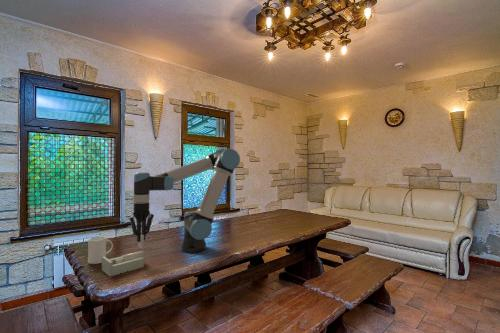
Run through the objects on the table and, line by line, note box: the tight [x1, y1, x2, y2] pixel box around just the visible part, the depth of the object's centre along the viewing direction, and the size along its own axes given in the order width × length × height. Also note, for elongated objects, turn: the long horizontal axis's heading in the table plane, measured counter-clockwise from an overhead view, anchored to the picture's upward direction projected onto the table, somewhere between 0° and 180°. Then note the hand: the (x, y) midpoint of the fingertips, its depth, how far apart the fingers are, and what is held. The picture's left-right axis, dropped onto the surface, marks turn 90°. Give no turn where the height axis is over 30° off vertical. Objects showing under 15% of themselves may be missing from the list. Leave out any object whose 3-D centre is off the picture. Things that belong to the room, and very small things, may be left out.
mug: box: [87, 236, 114, 265], centre depth 140 cm, size 12×8×12 cm
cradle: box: [101, 256, 145, 278], centre depth 131 cm, size 16×10×6 cm, turn 138°
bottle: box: [112, 250, 146, 265], centre depth 133 cm, size 5×5×14 cm
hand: (141, 247), depth 137 cm, fingers closed
